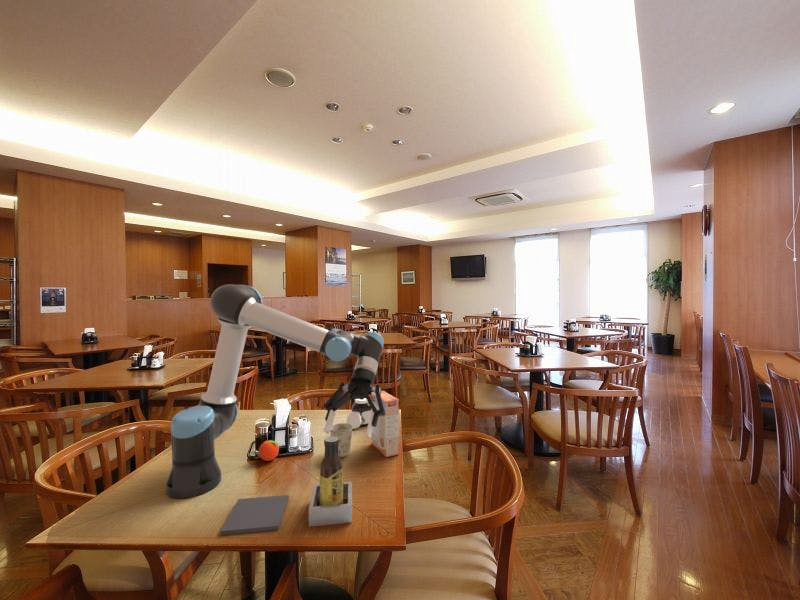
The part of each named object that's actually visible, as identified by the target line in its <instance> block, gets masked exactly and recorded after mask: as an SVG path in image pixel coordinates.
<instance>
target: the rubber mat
mask: <svg viewBox="0 0 800 600" xmlns="http://www.w3.org/2000/svg"><path fill="white" fill-rule="evenodd" d="M289 499H290V495H289V494H284V495H270V496H259V497H245V498H238V500H237V502H236V503H235V504H234V507H233V509H232V511H231V512H230V514H229V515H228V518H227V519H226V521H225V523H224V525H223V527H222V528H221V530H220V536H225V535H235V534H236V535H237V534H246V533H255V532H257V533H258V532H267V531H268V532H269V531H278V530H279V529H280V526H281V524H282V521H283V518H284V514H285V511H286V508H287V505H288V502H289Z"/></svg>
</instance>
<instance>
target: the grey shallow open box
mask: <svg viewBox="0 0 800 600" xmlns="http://www.w3.org/2000/svg"><path fill="white" fill-rule="evenodd" d="M312 487H313V488H312V492H311V496H310V501H309V506H308V527H319V526H329V525H330V526H331V525H341V524H351V523H353V482H352V481H343V500H347V503H343V504H339V505H328V506H320V505H319V506H317V504H318V502H320V483H315V484H313V486H312Z"/></svg>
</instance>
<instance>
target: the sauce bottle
mask: <svg viewBox="0 0 800 600" xmlns="http://www.w3.org/2000/svg"><path fill="white" fill-rule="evenodd" d="M338 444H339V438H338V437H331V436H327V437H325V438H324V440H323V445H324V457H323V458H322V459H321V462H320V467H319V469H320V472H319V484H320V501H319V506H328V505H339V504H344V499H343V482H344V467H343V464H342V461H341V457H339V452H338Z"/></svg>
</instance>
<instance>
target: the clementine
mask: <svg viewBox="0 0 800 600" xmlns="http://www.w3.org/2000/svg"><path fill="white" fill-rule="evenodd" d="M280 448H281V445H280V443H278V442H277V441H275V440H272V439H271V440H270V439H268V440H265V441H263V442H262V443H261V444H260V446H259V448H258V455H259V457H260V459H261V460H263V461H265V462H269V461H273V460H274V459H275V458H276V457H277V456H278V454H279V453H280V452H279V451H280Z"/></svg>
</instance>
